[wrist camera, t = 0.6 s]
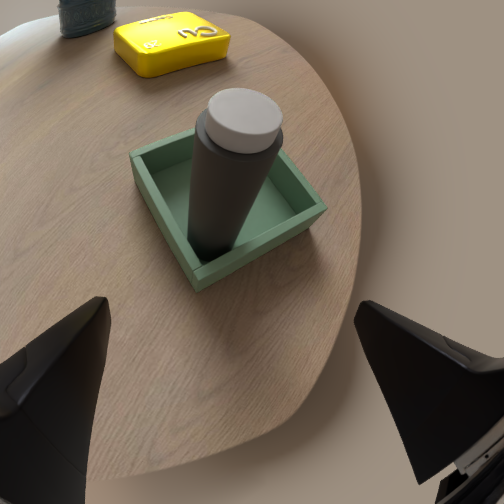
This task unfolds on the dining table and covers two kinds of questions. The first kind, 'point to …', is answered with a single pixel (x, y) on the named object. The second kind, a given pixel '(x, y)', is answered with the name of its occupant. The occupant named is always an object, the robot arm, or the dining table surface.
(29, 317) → the dining table surface
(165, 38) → the element tile
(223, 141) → the salt mill
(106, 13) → the canister
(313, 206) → the box
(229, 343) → the dining table surface
